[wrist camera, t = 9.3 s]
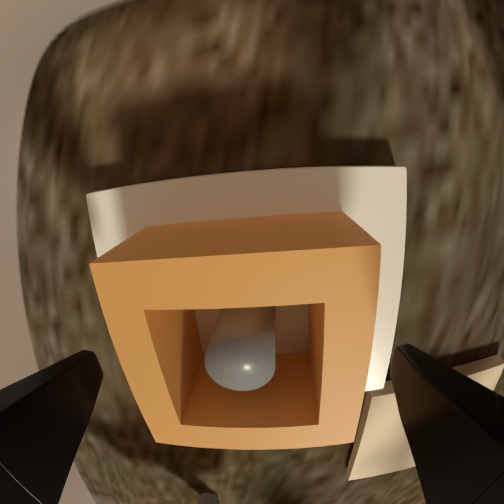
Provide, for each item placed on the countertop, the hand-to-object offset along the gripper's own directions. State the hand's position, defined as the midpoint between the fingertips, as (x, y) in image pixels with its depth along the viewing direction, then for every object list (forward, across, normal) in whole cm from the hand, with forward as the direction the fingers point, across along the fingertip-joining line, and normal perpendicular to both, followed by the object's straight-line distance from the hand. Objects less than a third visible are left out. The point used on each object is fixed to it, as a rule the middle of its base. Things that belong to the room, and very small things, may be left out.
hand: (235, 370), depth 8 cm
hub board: (+5, 0, 0) cm, 5 cm away
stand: (+5, -10, +10) cm, 15 cm away
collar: (+4, 0, 0) cm, 4 cm away
